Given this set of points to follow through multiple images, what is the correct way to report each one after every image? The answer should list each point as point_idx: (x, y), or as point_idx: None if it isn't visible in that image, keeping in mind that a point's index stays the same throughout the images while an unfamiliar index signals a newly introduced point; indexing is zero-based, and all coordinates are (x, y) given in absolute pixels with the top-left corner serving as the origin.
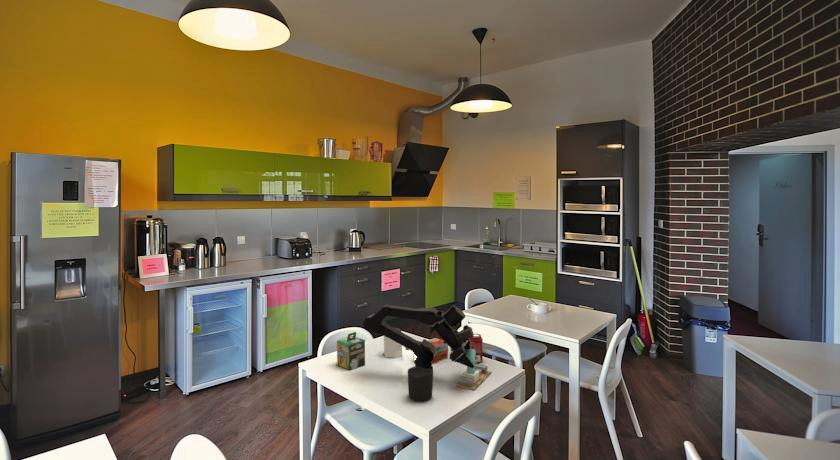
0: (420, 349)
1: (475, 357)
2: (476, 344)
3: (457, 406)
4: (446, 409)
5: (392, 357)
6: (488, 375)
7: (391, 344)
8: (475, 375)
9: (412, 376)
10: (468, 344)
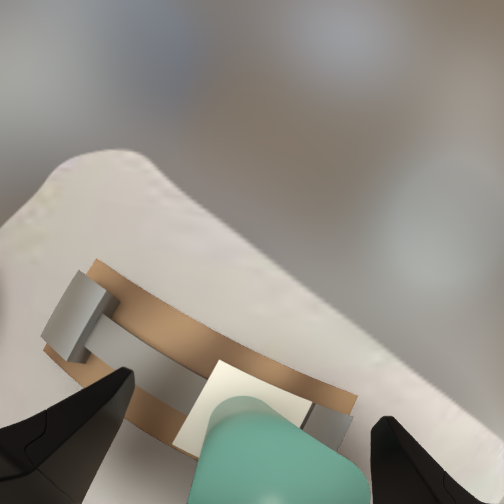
0: None
1: (126, 385)
2: None
3: (470, 436)
4: (478, 461)
5: None
6: (139, 287)
7: None
8: (297, 396)
9: None
10: (3, 496)
